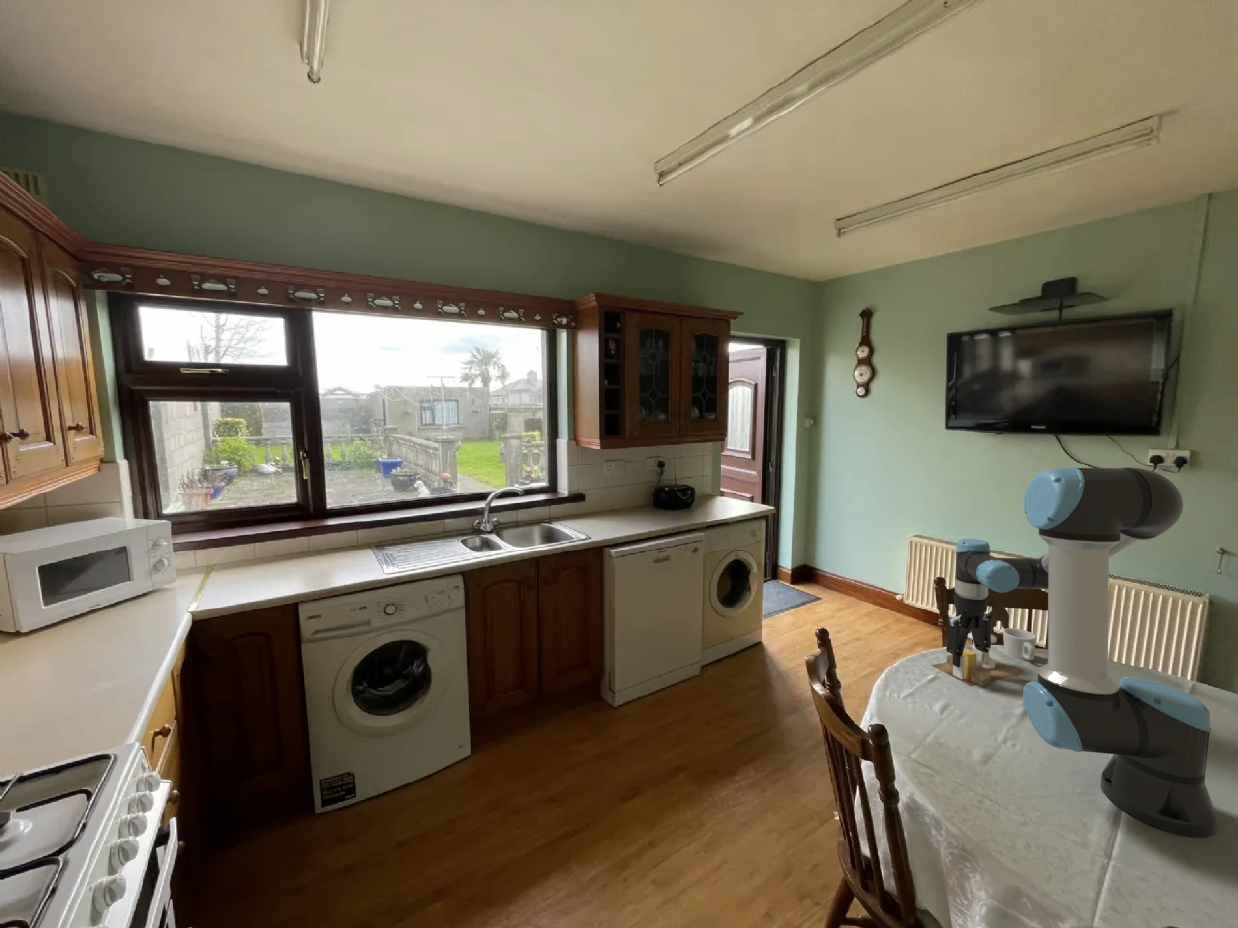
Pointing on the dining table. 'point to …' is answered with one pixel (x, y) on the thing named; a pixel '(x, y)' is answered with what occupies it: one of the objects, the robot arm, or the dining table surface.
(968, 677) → the yellow rectangular block
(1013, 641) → the cup
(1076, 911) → the dining table surface
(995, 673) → the board
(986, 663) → the knob
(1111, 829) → the dining table surface
